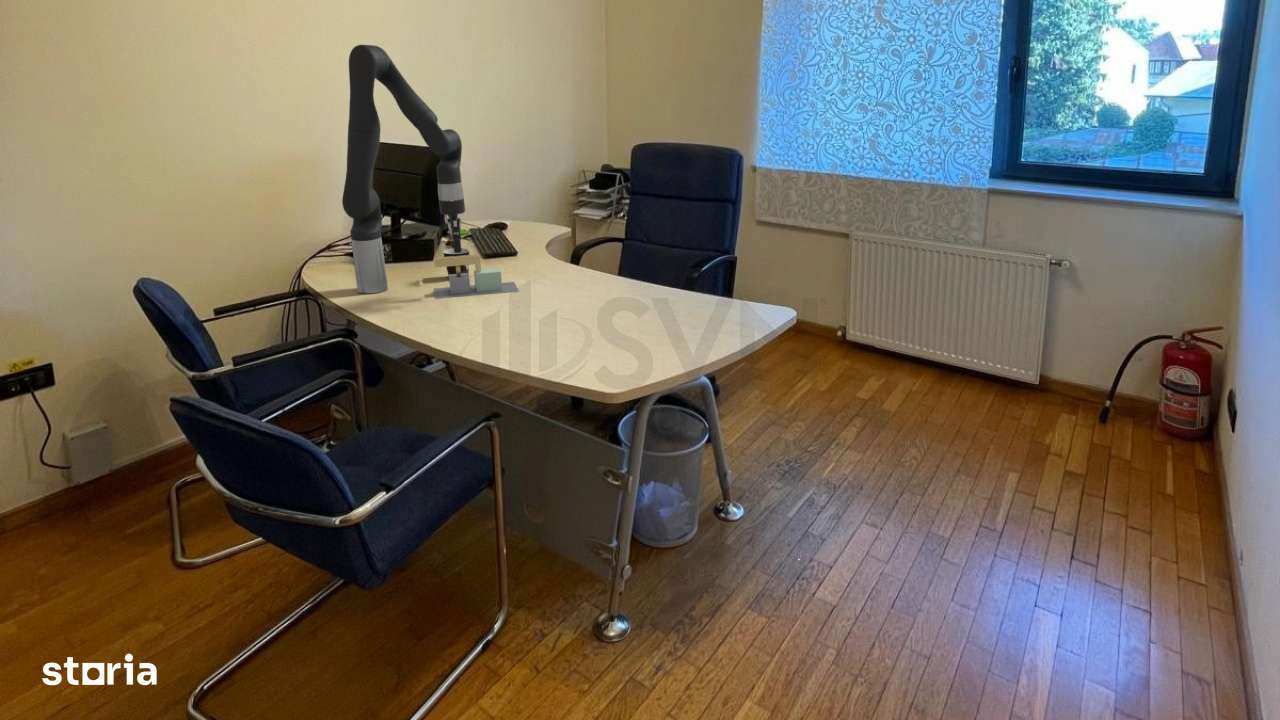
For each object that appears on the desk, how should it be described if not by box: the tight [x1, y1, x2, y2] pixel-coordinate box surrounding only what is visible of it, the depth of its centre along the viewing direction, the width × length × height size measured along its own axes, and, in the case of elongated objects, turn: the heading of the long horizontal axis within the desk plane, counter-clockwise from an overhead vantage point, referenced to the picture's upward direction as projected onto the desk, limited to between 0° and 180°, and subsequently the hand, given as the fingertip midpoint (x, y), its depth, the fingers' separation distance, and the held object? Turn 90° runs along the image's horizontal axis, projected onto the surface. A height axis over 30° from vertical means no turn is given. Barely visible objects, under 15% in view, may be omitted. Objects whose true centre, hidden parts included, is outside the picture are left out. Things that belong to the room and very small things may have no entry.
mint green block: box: [473, 267, 503, 292], centre depth 257 cm, size 8×5×6 cm, turn 106°
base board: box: [433, 273, 520, 300], centre depth 256 cm, size 26×12×6 cm, turn 106°
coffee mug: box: [443, 247, 470, 277], centre depth 272 cm, size 12×9×10 cm
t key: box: [433, 253, 482, 276], centre depth 253 cm, size 14×2×6 cm, turn 106°
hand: (456, 249), depth 251 cm, fingers open, 8 cm apart
